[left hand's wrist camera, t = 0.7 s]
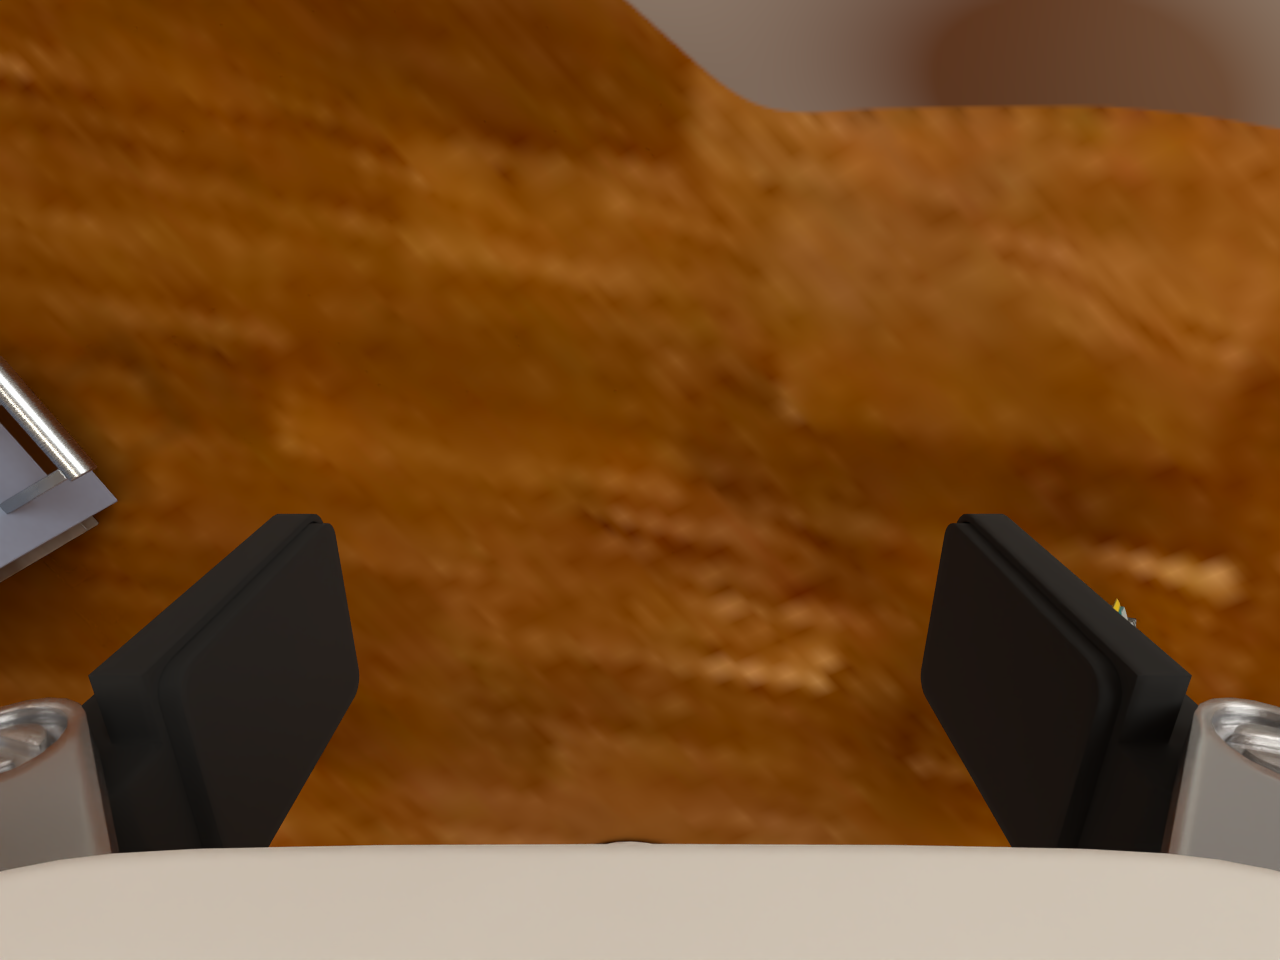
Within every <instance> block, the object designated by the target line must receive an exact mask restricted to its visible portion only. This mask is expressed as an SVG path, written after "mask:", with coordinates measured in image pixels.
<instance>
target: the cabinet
mask: <svg viewBox="0 0 1280 960" xmlns="http://www.w3.org/2000/svg"><path fill="white" fill-rule="evenodd" d="M98 524H99V523H98V522H97V520H96V519H95V518H94V517H93V516H91V517H89V518H87V519H86V520H84V521H82V522H80V523H79V524H77V525H75V526H73V527H72V528H70V529H68V530H66V531H65V532H63V533H61V534H59V535H58V536H56V537H54V538H52V539H51V540H49V541H47V542H46V543H44V544H42V545H40V546H39V547H37V548H35V549H33V550H32V551H30V552H28V553H26V554H25V555H23V556H21V557H19V558H18V559H16V560H14V561H12V562H11V563H9V564H7V565H5V566H4V567H2V568H0V583H1V582H2V581H4V580H6V579H7V578H9V577H11V576H12V575H14V574H16V573H17V572H19V571H21V570H22V569H24V568H26V567H27V566H29V565H31V564H32V563H34V562H36V561H37V560H39V559H41V558H43V557H44V556H46V555H48V554H49V553H51V552H53V551H54V550H56V549H58V548H59V547H61V546H63V545H64V544H66V543H68V542H69V541H71V540H73V539H74V538H76V537H78V536H79V535H81V534H83V533H85V532H86V531H88V530H90V529H91V528H93V527H95V526H96V525H98Z"/></svg>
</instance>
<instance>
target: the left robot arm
mask: <svg viewBox="0 0 1280 960" xmlns="http://www.w3.org/2000/svg"><path fill="white" fill-rule="evenodd" d="M88 676H89V679H90V682H91V685H92V688H93V691H94V695H93V696H92V697H91V698H90V699H89V700H87V701H86V702H85V703H84V704H83V705H82V706H81V705H80V704H79V703H77V702H74V701H72V700H69V699H63V698H42V699H34V700H27V701H22V702H19V703H15V704H11V705H7V706H4V707H0V960H1280V707H1276V706H1273V705H1269V704H1265V703H1261V702H1258V701H1253V700H1246V699H1238V698H1217V699H1211V700H1208V701H1206V702H1203V703H1201V704H1200V705H1199V706H1198V705H1197V704H1196V703H1195V702H1194V701H1193V700H1191V699H1190V698H1189V697H1188V696H1187V695H1186V691H1187V688H1188V685H1189V682H1190V679H1191V676H1192V675H1190V674H1189V673H1188V672H1187V671H1186V670H1185V669H1183V668H1182V667H1181V666H1180V665H1179V664H1178V663H1177V662H1175V661H1174V660H1173V659H1172V658H1171V657H1170V656H1168V655H1167V654H1166V653H1165V652H1164V651H1163V650H1161V649H1160V648H1159V647H1158V646H1157V645H1156V644H1154V643H1153V642H1152V641H1151V640H1150V639H1149V638H1148V637H1146V636H1145V635H1144V634H1143V633H1142V632H1141V631H1139V630H1138V629H1137V628H1136V627H1135V626H1134V625H1132V624H1131V623H1130V622H1129V621H1128V620H1127V619H1125V618H1124V617H1123V616H1122V615H1121V614H1120V613H1119V612H1117V611H1116V610H1115V609H1114V608H1113V607H1112V606H1110V605H1109V604H1108V603H1107V602H1106V601H1105V600H1103V599H1102V598H1101V597H1100V596H1099V595H1098V594H1096V593H1095V592H1094V591H1093V590H1092V589H1091V588H1090V587H1088V586H1087V585H1086V584H1085V583H1084V582H1083V581H1081V580H1080V579H1079V578H1078V577H1077V576H1076V575H1074V574H1073V573H1072V572H1071V571H1070V570H1069V569H1067V568H1066V567H1065V566H1064V565H1063V564H1062V563H1061V562H1059V561H1058V560H1057V559H1056V558H1055V557H1054V556H1052V555H1051V554H1050V553H1049V552H1048V551H1047V550H1045V549H1044V548H1043V547H1042V546H1041V545H1040V544H1038V543H1037V542H1036V541H1035V540H1034V539H1033V538H1032V537H1030V536H1029V535H1028V534H1027V533H1026V532H1025V531H1023V530H1022V529H1021V528H1020V527H1019V526H1018V525H1016V524H1015V523H1014V522H1013V521H1012V520H1011V519H1009V518H1008V517H1007V516H1005V515H1003V514H963V515H962V516H961V517H960V518H959V520H958V522H957V523H952V524H950V525H948V527H947V529H946V532H945V535H944V541H943V547H942V553H941V559H940V564H939V570H938V576H937V582H936V588H935V593H934V599H933V605H932V611H931V617H930V622H929V628H928V634H927V640H926V646H925V651H924V657H923V663H922V669H921V683H922V689H923V692H924V695H925V697H926V699H927V700H928V702H929V704H930V706H931V707H932V709H933V711H934V713H935V714H936V716H937V718H938V720H939V721H940V723H941V725H942V727H943V728H944V730H945V732H946V734H947V735H948V737H949V739H950V740H951V742H952V744H953V746H954V747H955V749H956V751H957V753H958V754H959V756H960V758H961V760H962V761H963V763H964V765H965V767H966V768H967V770H968V772H969V774H970V775H971V777H972V779H973V781H974V782H975V784H976V786H977V787H978V789H979V791H980V793H981V794H982V796H983V798H984V800H985V801H986V803H987V805H988V807H989V808H990V810H991V812H992V814H993V815H994V817H995V819H996V821H997V822H998V824H999V826H1000V828H1001V829H1002V831H1003V833H1004V834H1005V836H1006V838H1007V840H1008V841H1009V843H1010V845H1011V847H964V846H911V845H756V844H650V843H644V842H632V841H629V842H614V843H609V844H523V845H369V846H316V847H269V845H270V843H271V841H272V840H273V838H274V836H275V834H276V833H277V831H278V829H279V828H280V826H281V824H282V822H283V821H284V819H285V817H286V815H287V814H288V812H289V810H290V808H291V807H292V805H293V803H294V801H295V800H296V798H297V796H298V794H299V793H300V791H301V789H302V787H303V786H304V784H305V782H306V781H307V779H308V777H309V775H310V774H311V772H312V770H313V768H314V767H315V765H316V763H317V761H318V760H319V758H320V756H321V754H322V753H323V751H324V749H325V747H326V746H327V744H328V742H329V740H330V739H331V737H332V735H333V734H334V732H335V730H336V728H337V727H338V725H339V723H340V721H341V720H342V718H343V716H344V714H345V713H346V711H347V709H348V707H349V706H350V704H351V702H352V700H353V699H354V697H355V695H356V692H357V689H358V683H359V669H358V663H357V657H356V651H355V646H354V640H353V634H352V628H351V622H350V617H349V611H348V605H347V599H346V593H345V588H344V582H343V576H342V570H341V564H340V559H339V553H338V547H337V541H336V535H335V532H334V529H333V527H332V525H330V524H328V523H323V522H322V520H321V518H320V517H319V516H318V515H317V514H277V515H275V516H273V517H272V518H271V519H269V520H268V521H267V522H266V523H265V524H264V525H262V526H261V527H260V528H259V529H258V530H257V531H255V532H254V533H253V534H252V535H251V536H250V537H248V538H247V539H246V540H245V541H244V542H243V543H242V544H240V545H239V546H238V547H237V548H236V549H235V550H233V551H232V552H231V553H230V554H229V555H228V556H226V557H225V558H224V559H223V560H222V561H221V562H219V563H218V564H217V565H216V566H215V567H214V568H213V569H211V570H210V571H209V572H208V573H207V574H206V575H204V576H203V577H202V578H201V579H200V580H199V581H197V582H196V583H195V584H194V585H193V586H192V587H190V588H189V589H188V590H187V591H186V592H185V593H184V594H182V595H181V596H180V597H179V598H178V599H177V600H175V601H174V602H173V603H172V604H171V605H170V606H168V607H167V608H166V609H165V610H164V611H163V612H161V613H160V614H159V615H158V616H157V617H156V618H155V619H153V620H152V621H151V622H150V623H149V624H148V625H146V626H145V627H144V628H143V629H142V630H141V631H139V632H138V633H137V634H136V635H135V636H134V637H132V638H131V639H130V640H129V641H128V642H127V643H126V644H124V645H123V646H122V647H121V648H120V649H119V650H117V651H116V652H115V653H114V654H113V655H112V656H110V657H109V658H108V659H107V660H106V661H105V662H103V663H102V664H101V665H100V666H99V667H98V668H97V669H95V670H94V671H93V672H92V673H91V674H90V675H88Z"/></svg>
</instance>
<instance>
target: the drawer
mask: <svg viewBox="0 0 1280 960" xmlns="http://www.w3.org/2000/svg"><path fill="white" fill-rule="evenodd" d="M95 468H97V466H96V464H95V463H94V462H93V461H92V460H91V459H90V457H89V456H88V455H87V454H86V453H85V452H84V451H83V449H82V448H81V447H80V446H79V445H78V444H77V442H76V441H75V440H74V439H73V438H72V437H71V436H70V434H69V433H68V432H67V431H66V430H65V429H64V427H63V426H62V425H61V424H60V423H59V422H58V421H57V419H56V418H55V417H54V416H53V415H52V414H51V412H50V411H49V410H48V409H47V408H46V407H45V406H44V404H43V403H42V402H41V401H40V400H39V399H38V397H37V396H36V395H35V394H34V393H33V392H32V391H31V389H30V388H29V387H28V386H27V385H26V384H25V382H24V381H23V380H22V379H21V378H20V377H19V376H18V374H17V373H16V372H15V371H14V370H13V369H12V367H11V366H10V365H9V364H8V363H7V362H6V361H5V359H4V358H3V357H2V356H0V568H2V567H4V566H5V565H7V564H9V563H11V562H12V561H14V560H16V559H18V558H19V557H21V556H23V555H25V554H26V553H28V552H30V551H32V550H33V549H35V548H37V547H39V546H40V545H42V544H44V543H46V542H47V541H49V540H51V539H52V538H54V537H56V536H58V535H59V534H61V533H63V532H65V531H66V530H68V529H70V528H72V527H73V526H75V525H77V524H79V523H80V522H82V521H84V520H86V519H87V518H89V517H91V516H93V515H94V514H96V513H98V512H100V511H101V510H103V509H105V508H107V507H108V506H110V505H112V504H113V503H115V502H117V499H116V498H115V497H114V496H113V494H112V493H111V492H110V491H109V490H108V489H107V488H106V486H105V485H104V484H103V483H102V482H101V481H100V480H99V478H98V477H97V476H96V475H95V474H94V473H93V471H92V470H94V469H95Z"/></svg>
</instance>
